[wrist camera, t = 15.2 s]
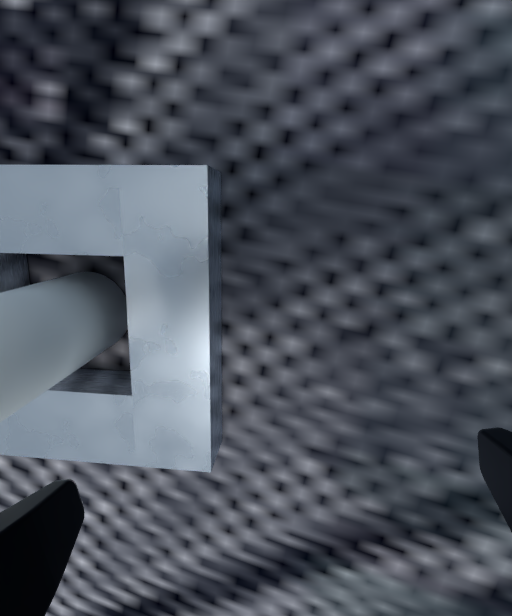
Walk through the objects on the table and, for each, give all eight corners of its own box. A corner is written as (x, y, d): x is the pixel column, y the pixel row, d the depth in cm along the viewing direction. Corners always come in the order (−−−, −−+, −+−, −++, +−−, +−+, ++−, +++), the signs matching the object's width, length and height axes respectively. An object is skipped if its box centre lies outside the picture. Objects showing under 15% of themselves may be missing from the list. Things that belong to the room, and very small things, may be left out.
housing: (220, 172, 20) (207, 165, 17) (222, 440, 24) (211, 472, 21) (-52, 171, 22) (-107, 164, 19) (-14, 422, 25) (-55, 449, 22)
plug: (140, 292, 22) (-11, 364, 11) (114, 361, 23) (-45, 486, 12) (66, 258, 22) (-154, 298, 11) (44, 329, 23) (-174, 425, 13)
